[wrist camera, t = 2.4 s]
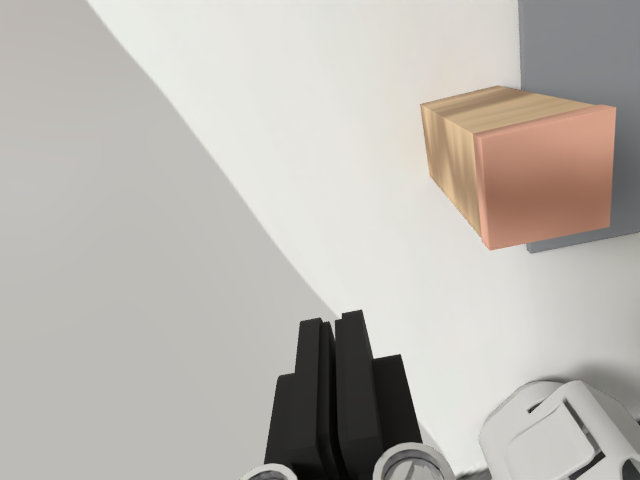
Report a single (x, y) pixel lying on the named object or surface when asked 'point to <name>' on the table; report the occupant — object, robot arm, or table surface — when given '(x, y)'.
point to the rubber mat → (590, 86)
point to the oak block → (522, 163)
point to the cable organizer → (559, 434)
